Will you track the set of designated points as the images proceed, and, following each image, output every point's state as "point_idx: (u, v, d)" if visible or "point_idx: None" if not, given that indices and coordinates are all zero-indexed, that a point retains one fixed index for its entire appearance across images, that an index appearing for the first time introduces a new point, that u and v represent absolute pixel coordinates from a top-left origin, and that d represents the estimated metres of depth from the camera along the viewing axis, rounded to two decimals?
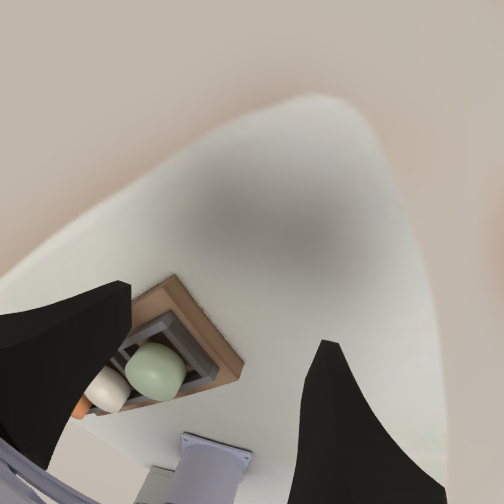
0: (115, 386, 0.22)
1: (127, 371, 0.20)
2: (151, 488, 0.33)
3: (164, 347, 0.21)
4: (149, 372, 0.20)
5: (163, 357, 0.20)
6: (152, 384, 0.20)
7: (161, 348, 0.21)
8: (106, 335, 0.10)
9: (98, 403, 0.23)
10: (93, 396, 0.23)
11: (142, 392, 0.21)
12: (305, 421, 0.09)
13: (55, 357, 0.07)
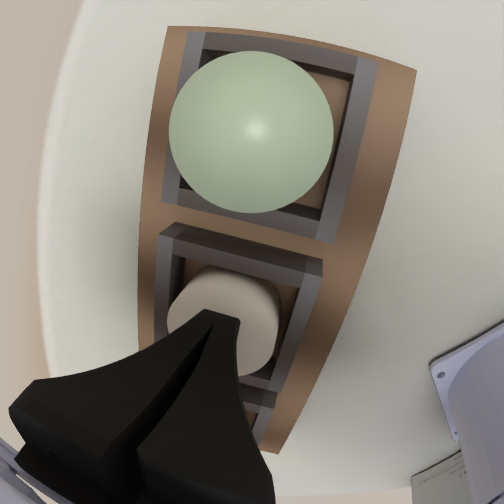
0: (229, 278, 0.11)
1: (185, 167, 0.08)
2: None
3: None
4: (223, 100, 0.07)
5: None
6: (258, 133, 0.07)
7: None
8: None
9: None
10: None
11: (260, 201, 0.08)
12: None
13: (166, 408, 0.07)
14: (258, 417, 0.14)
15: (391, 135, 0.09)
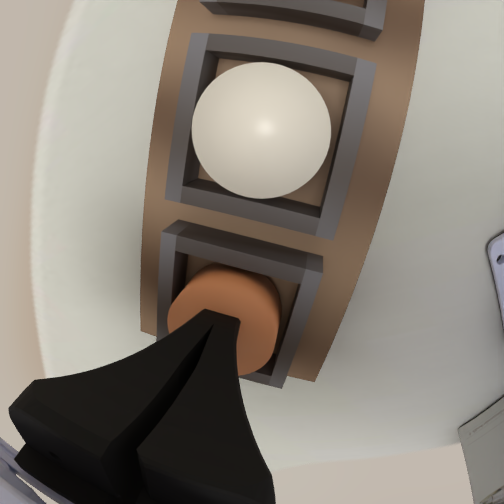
0: None
1: None
2: (487, 459, 0.12)
3: None
4: None
5: None
6: None
7: None
8: None
9: (271, 172, 0.09)
10: (247, 160, 0.09)
11: None
12: None
13: (166, 408, 0.07)
14: (300, 292, 0.11)
15: None
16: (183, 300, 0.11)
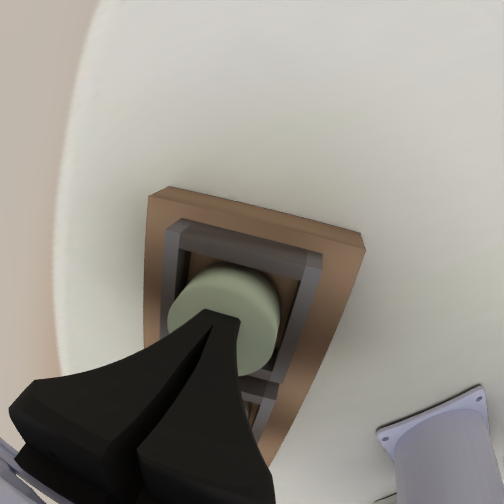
0: None
1: None
2: None
3: (208, 266, 0.12)
4: None
5: (208, 275, 0.11)
6: None
7: (204, 270, 0.12)
8: None
9: None
10: None
11: None
12: None
13: (166, 408, 0.07)
14: None
15: (336, 303, 0.13)
16: None
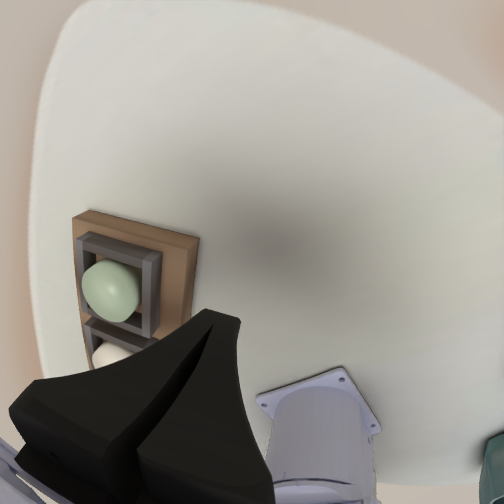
0: (115, 346, 0.21)
1: (90, 303, 0.19)
2: None
3: None
4: (96, 283, 0.18)
5: (101, 260, 0.19)
6: (109, 296, 0.18)
7: None
8: None
9: None
10: None
11: (115, 318, 0.19)
12: None
13: (166, 408, 0.07)
14: None
15: (178, 285, 0.20)
16: None
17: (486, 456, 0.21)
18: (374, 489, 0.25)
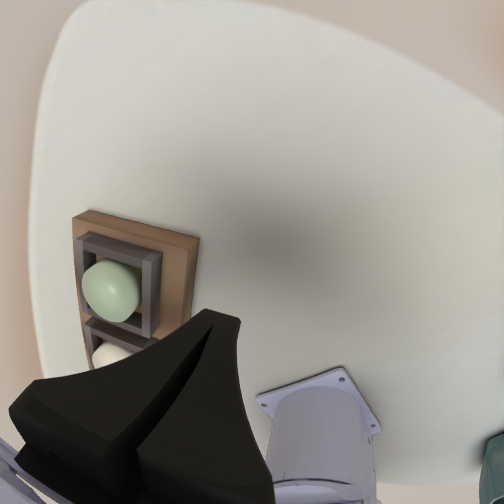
0: (115, 346, 0.21)
1: (90, 303, 0.19)
2: None
3: None
4: (96, 283, 0.18)
5: (101, 260, 0.19)
6: (109, 296, 0.18)
7: None
8: None
9: None
10: None
11: (115, 318, 0.19)
12: None
13: (166, 408, 0.07)
14: None
15: (177, 285, 0.20)
16: None
17: (486, 456, 0.21)
18: (374, 489, 0.25)
